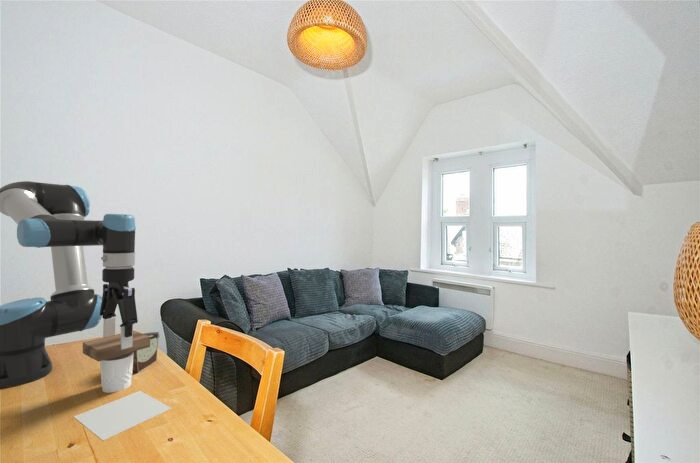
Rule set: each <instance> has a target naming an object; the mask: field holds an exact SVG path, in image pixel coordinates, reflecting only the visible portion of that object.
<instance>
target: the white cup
mask: <svg viewBox="0 0 700 463" xmlns="http://www.w3.org/2000/svg"><path fill="white" fill-rule="evenodd" d="M133 357H134V352H130V353H127V354H123V355H120V356H116V357H113V358H109V359H106V360H102V361H99V362H100V365H99V366H100V382H101V386H102V387H101V391H102V392H104V393H106V394H107V393H109V394H110V393H117V392H120V391H124V390H126V389H127V388H129V387H130V386H132V377H133V372H132V371H133Z"/></svg>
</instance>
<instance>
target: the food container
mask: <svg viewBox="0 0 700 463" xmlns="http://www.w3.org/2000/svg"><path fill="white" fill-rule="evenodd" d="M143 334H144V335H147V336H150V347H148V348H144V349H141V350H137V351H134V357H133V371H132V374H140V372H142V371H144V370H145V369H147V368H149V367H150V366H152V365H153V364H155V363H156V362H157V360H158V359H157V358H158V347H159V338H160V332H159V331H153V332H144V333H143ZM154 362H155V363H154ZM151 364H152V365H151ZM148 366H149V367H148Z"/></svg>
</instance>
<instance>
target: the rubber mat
mask: <svg viewBox="0 0 700 463" xmlns="http://www.w3.org/2000/svg"><path fill="white" fill-rule="evenodd" d="M171 409H173V408H172V407H170V406H168V405H167V404H165V403H163V402H161V401H160V400H158V399H157V398H154V397H153V396H150V395H149V394H147V393H145V392H143V391H141V390H139V391H136V392H133V393H131V394H129V395H126V396H123V397H121V398H120V397H119V398H118V399H115V400H113V401H110V402H107V403H105V404H103V405H100V406H97V407H95V408H93V409H90V410H89V409H88V410H87V411H85V412H82V413H79V414H77V415H74V416H73V418H74V419H75V420H77V421H78V422H79V423H80V424H82V425H83V426H84V427H85V428H87V429H88V430H89V431H90V432H92V433H93V435H95V436H96V437H98V439H100V440H101V441H106V440H109V438H112V437H114V436H116V435H118V434H120V433H123V432H125V431H127V430H129V429H131V428H133V427H135V426H138V425H140V424H141V423H143V422H146V421H148V420H151V419H152V418H154V417H156V416H159V415H161V414H164V413H165V412H168V411H170V410H171Z"/></svg>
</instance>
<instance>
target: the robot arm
mask: <svg viewBox="0 0 700 463" xmlns="http://www.w3.org/2000/svg"><path fill="white" fill-rule="evenodd" d="M90 207H91V204H90V199H89V196H88V194H87V191H85V190H84V189H83V188H82V187H80V186H77V185H76V186H75V185H70V184H59V183H56V184H55V183H49V182H48V183H46V182H37V181H25V180H24V181H16V182H11V183H7V184H6V185H4V186H2V187H0V213H1V214H2V215H4V216H8V217H10V219H12V220H13V221H14V223H16V224H17V225H16V226H17V227H16V238H17V242H18V244H19V245H20V246H21V247H24V248H50V249H51V257H52V258H51V259H52V269H53V277H54V278H53V279H54V287H55V291H54V292H53V293H52V294H51V295H50V300H48V301H47V300H46V298H44V297H32V298H30V297H29V298H25V299H19V300H14V301H11V302H7V303H4V304H1V305H0V387H5V388H10V387H11V388H12V387H17V386H19V385H23V384H27V383H31V382H33V381H36V380H39V379H42V378H43V377H45V376H47V375H49V374H50V373H51V372H52V370H53V363H52V362H53V361H52V360H51V358H50V355H49V353H48V351H47V349H46V339H47V338H52V337H57V336H62V335H67V334H71V333H76V332H83V331H85V330H90V329H94V328H95V327H97V326H98V325H99V323H100V322H101V320H102V319H103V328H102V329H103V333H102V336H103V337H102V338H105V337H109V336H113V335H116V317H117V315H116V309H117V307H118V310H119V314H120V319H121V322H122V323H121V324H120V325H119V327H120V334H121V344H120V345H121V350H122V349H126V348H130V347H132V344H133V331H134V329H133V328H134V325H135V324H137V323H138V322H139V320H138V312H137V305H136V304H137V303H136V297H135V295H136V289H135V287H130V286H129V282H130V281H133V280H134V279H135V267H133V266H135V263H136V260H135V259H136V252H135V249H136V248H135V247H136V246H135V245H136V228H137V226H136V218H135V216H134V215H132V214H123V213H122V214H120V213H105V214H104V216H103V218H102V219H103V220H93V219H91V220H90V219H89V220H87V219H85V218H86V217H88V215H89V214H90V210H91V209H90ZM86 246H87V247H90V246H98V247H99V246H102V256H101V257H100V260H101V261H102V266H103V267H104V268H103V269H102V271H101V273H102V276H101V277H102V279H101V280H102V281H103V284H102V295H101V294H97V293H95V289H94V288H92V287H90V286H89V283H88V276H87V268H86V260H85V253H84V247H86Z"/></svg>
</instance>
